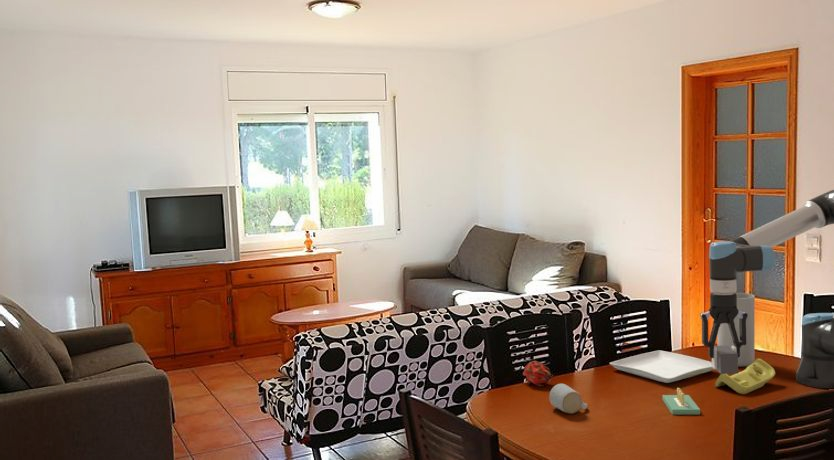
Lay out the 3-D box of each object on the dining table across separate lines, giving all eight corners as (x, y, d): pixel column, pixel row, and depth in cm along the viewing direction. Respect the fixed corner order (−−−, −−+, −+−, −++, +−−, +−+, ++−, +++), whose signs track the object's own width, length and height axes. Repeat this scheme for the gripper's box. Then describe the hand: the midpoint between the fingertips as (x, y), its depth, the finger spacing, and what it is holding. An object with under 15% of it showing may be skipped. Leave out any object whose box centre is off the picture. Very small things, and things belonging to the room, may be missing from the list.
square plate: (659, 358, 291) (659, 348, 291) (721, 374, 268) (721, 363, 268) (608, 371, 277) (608, 360, 277) (669, 388, 254) (668, 377, 254)
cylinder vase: (751, 368, 272) (751, 299, 269) (714, 364, 278) (714, 297, 276) (757, 360, 282) (757, 293, 280) (721, 356, 289) (721, 291, 287)
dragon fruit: (526, 383, 270) (550, 396, 260) (512, 373, 265) (535, 386, 255) (539, 362, 271) (562, 374, 261) (525, 352, 266) (548, 364, 257)
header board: (688, 399, 241) (688, 384, 240) (700, 414, 227) (700, 398, 226) (662, 399, 242) (662, 384, 241) (672, 414, 228) (672, 398, 227)
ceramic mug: (563, 416, 230) (563, 391, 229) (548, 408, 237) (548, 384, 236) (593, 411, 234) (593, 387, 233) (577, 404, 241) (577, 380, 240)
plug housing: (708, 361, 242) (707, 342, 241) (724, 360, 241) (724, 342, 241) (720, 373, 228) (720, 354, 228) (738, 373, 228) (737, 353, 227)
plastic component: (745, 389, 242) (719, 369, 249) (736, 406, 246) (711, 387, 252) (781, 373, 252) (755, 355, 259) (772, 390, 256) (748, 372, 263)
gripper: (695, 295, 228) (696, 372, 230) (758, 294, 226) (759, 370, 228) (689, 291, 235) (690, 365, 237) (750, 289, 233) (751, 364, 235)
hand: (724, 367), depth 233 cm, fingers closed on plug housing, 5 cm apart
